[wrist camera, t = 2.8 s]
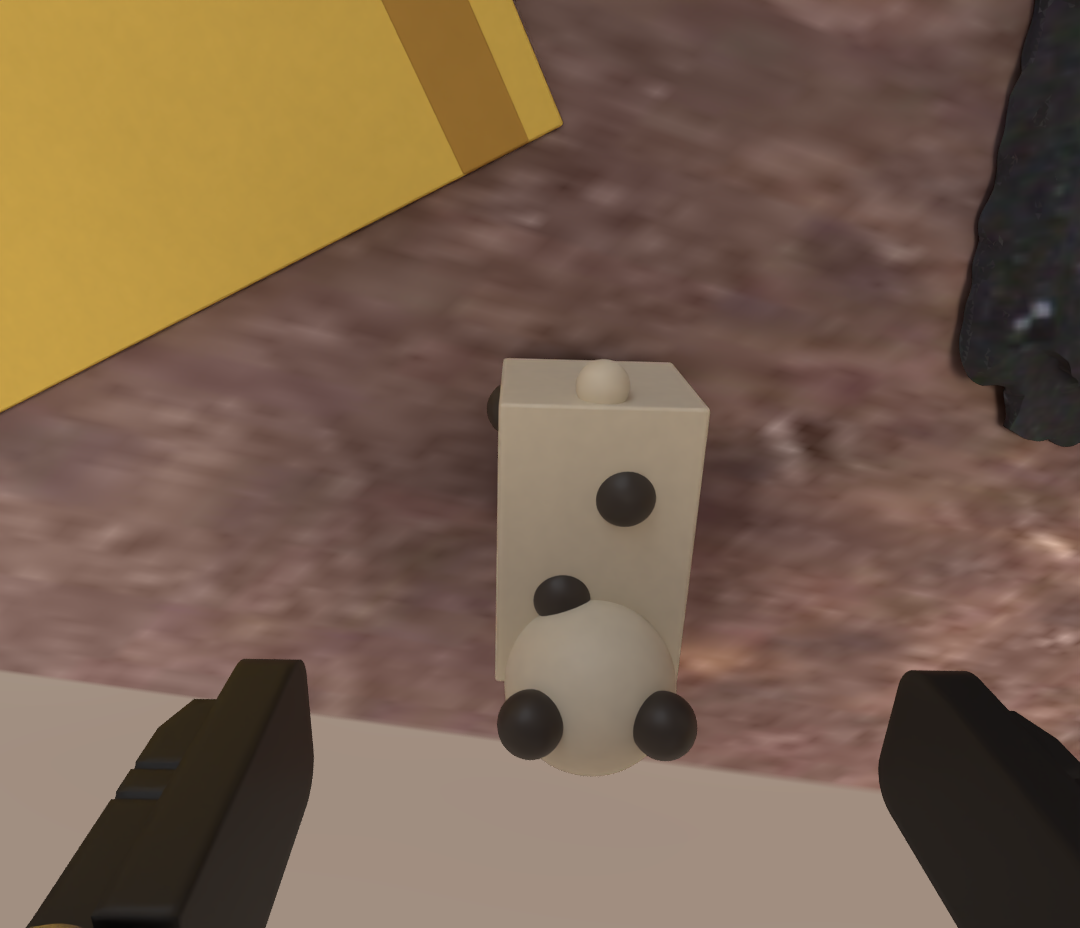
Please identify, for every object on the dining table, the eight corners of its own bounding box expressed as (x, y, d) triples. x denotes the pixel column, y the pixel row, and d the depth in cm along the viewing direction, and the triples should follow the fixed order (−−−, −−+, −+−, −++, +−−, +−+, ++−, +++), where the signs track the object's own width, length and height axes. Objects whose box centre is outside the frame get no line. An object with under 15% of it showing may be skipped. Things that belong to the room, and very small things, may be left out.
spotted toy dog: (492, 313, 17) (472, 406, 10) (675, 319, 17) (781, 414, 10) (489, 624, 20) (472, 859, 13) (644, 626, 21) (709, 859, 14)
